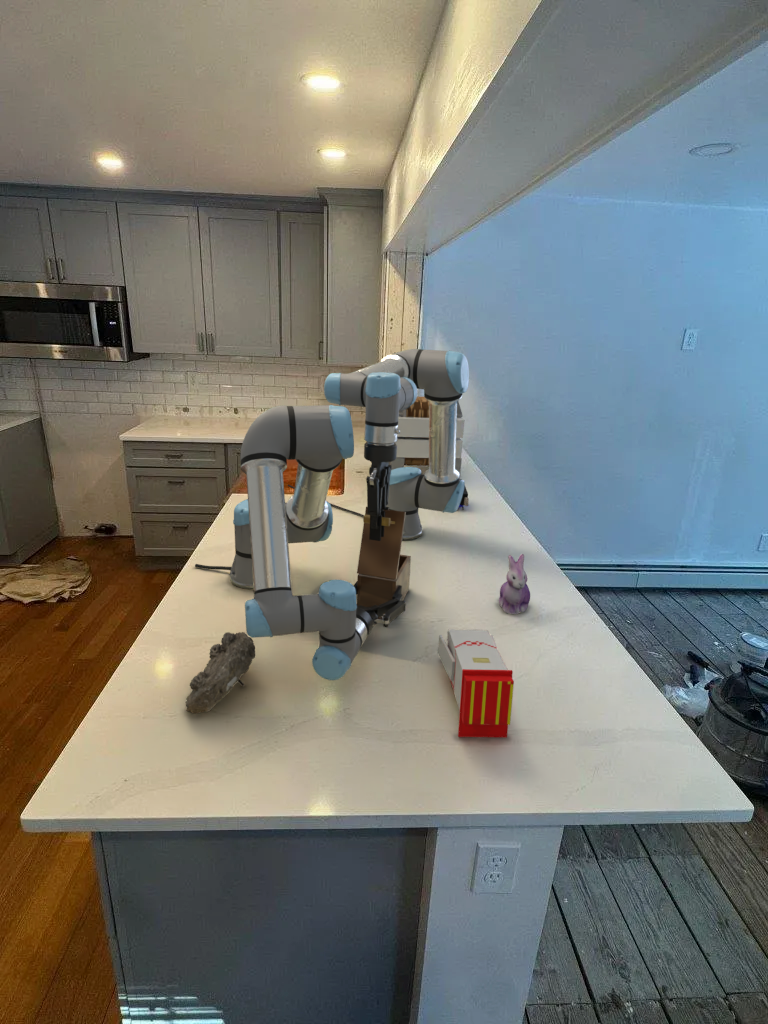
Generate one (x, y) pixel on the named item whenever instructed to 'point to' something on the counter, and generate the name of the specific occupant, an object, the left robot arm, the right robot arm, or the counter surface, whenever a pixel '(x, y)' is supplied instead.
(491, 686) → the toy
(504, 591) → the figurine
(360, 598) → the chest
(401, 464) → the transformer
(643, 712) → the counter surface
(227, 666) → the fossil
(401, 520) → the lid
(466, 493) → the figurine character
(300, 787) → the counter surface
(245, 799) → the counter surface
